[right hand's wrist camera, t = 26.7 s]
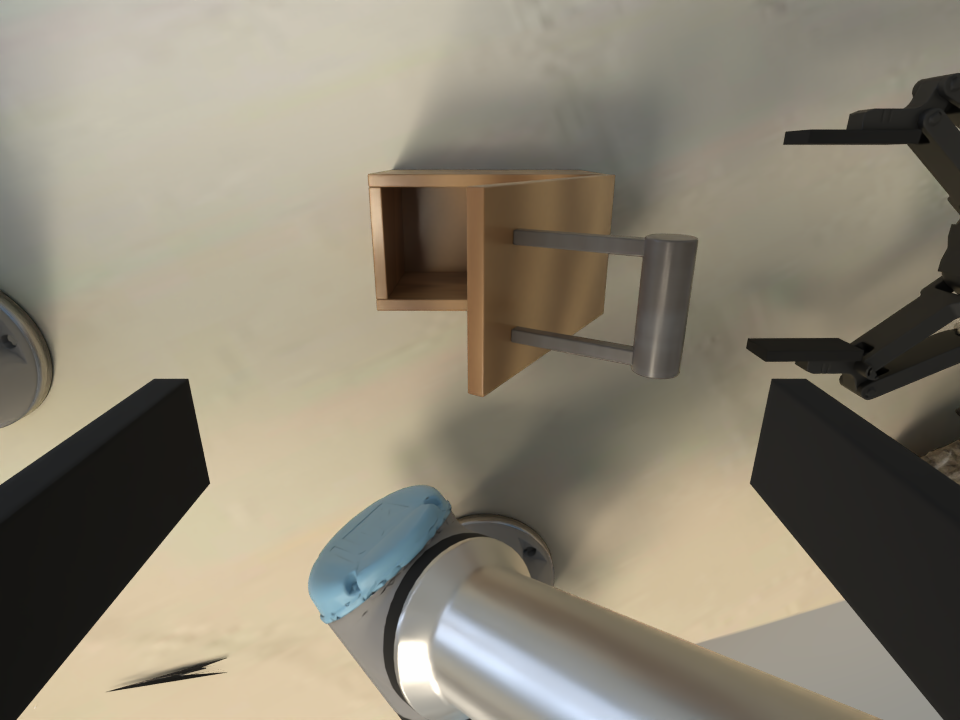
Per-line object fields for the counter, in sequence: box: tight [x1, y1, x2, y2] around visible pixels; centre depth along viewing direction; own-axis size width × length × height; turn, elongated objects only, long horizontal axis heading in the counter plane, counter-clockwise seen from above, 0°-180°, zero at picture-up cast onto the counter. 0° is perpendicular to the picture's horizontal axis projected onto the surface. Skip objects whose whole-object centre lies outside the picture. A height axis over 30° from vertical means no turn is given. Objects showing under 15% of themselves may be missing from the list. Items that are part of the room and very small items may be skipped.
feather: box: [34, 658, 227, 708], centre depth 67 cm, size 2×28×2 cm
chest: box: [368, 170, 602, 311], centre depth 43 cm, size 16×10×11 cm, turn 90°
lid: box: [466, 174, 698, 397], centre depth 29 cm, size 17×10×9 cm
